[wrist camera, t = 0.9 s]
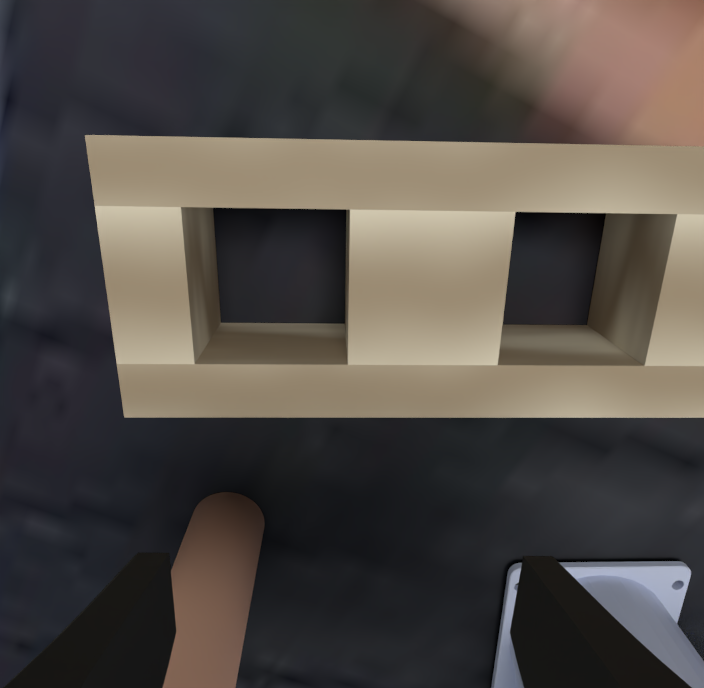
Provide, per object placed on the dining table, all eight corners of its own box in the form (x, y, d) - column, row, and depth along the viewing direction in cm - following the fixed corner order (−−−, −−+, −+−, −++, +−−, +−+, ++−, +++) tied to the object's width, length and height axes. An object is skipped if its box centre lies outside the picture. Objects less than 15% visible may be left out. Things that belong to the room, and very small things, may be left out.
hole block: (637, 368, 21) (703, 417, 17) (163, 367, 20) (124, 417, 17) (683, 147, 18) (774, 147, 14) (137, 137, 18) (85, 135, 14)
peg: (265, 551, 23) (227, 781, 15) (194, 551, 23) (115, 784, 15) (263, 491, 22) (220, 702, 14) (189, 492, 22) (100, 704, 14)
